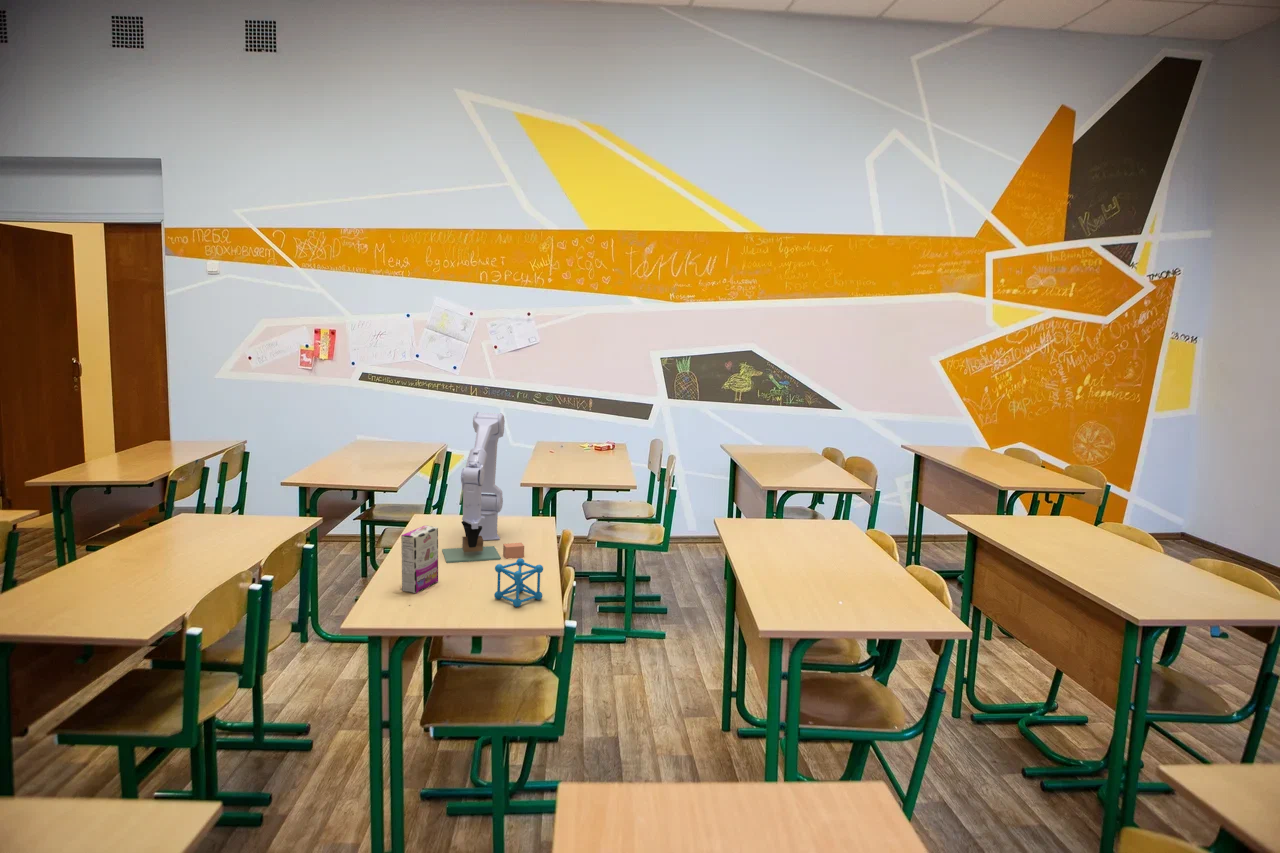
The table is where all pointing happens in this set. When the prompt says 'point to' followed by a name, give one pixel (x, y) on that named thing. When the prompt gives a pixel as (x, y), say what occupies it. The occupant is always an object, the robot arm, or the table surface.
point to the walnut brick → (472, 549)
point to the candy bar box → (419, 559)
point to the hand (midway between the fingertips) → (471, 545)
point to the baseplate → (470, 555)
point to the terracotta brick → (513, 550)
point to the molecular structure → (518, 582)
